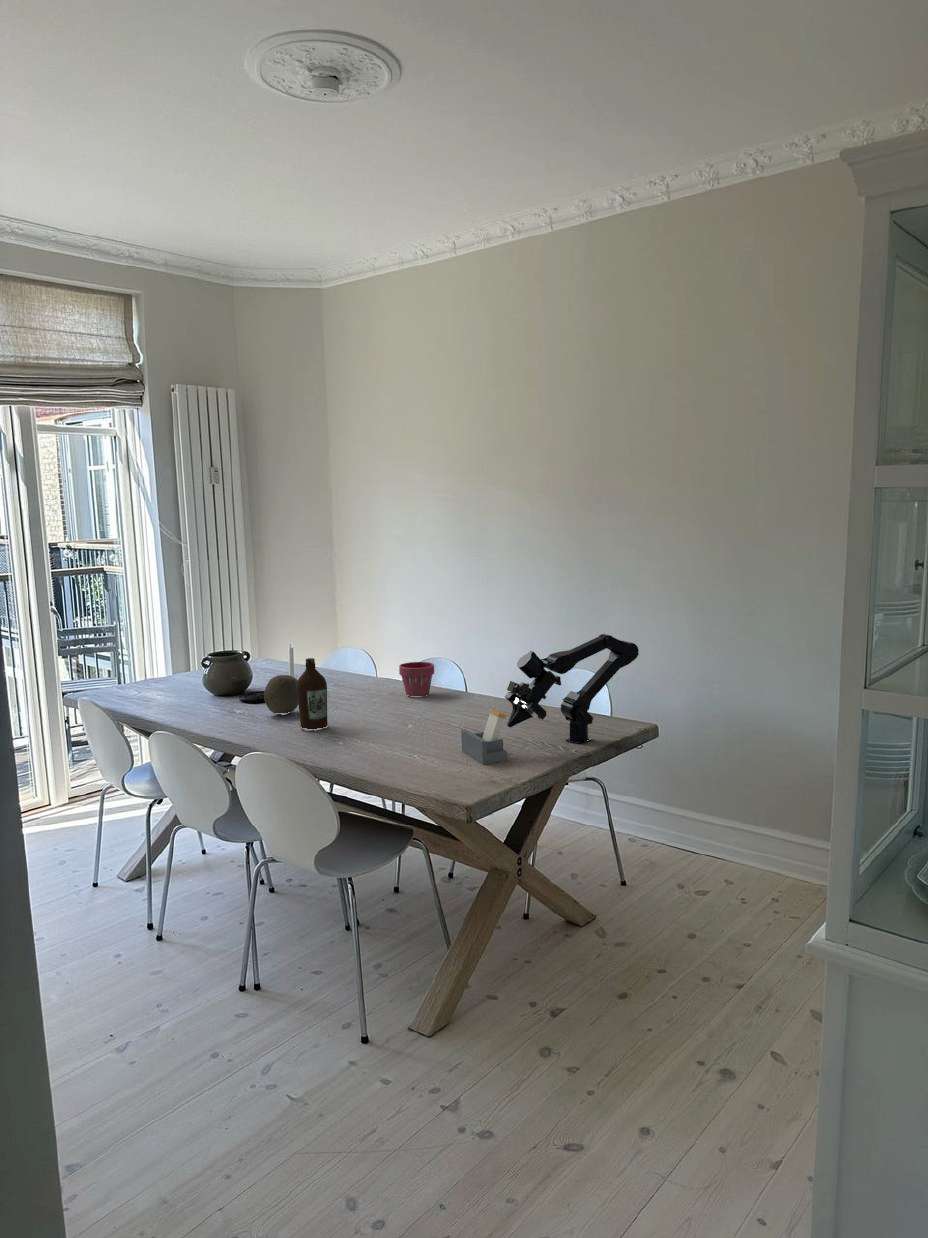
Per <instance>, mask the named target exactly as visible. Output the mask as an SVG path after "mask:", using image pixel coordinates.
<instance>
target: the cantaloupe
mask: <svg viewBox="0 0 928 1238" xmlns="http://www.w3.org/2000/svg"><path fill="white" fill-rule="evenodd" d="M297 681H298V678H296V677H294V676H292V675H287V674H280V675H279V674H278V675H275V676H273V677H271V679H269V681H268V682H267V683H266V686H265V689H264V692H263V693H264V694H263V701H264V703H265V705H266V707H267V709H268V710H269V711H270V712H272V714H275V713H288V712H291V713H292V711H293V712H294V711H295V710H296V709H297V707H299V705H298V697H297V689H296V685H297Z"/></svg>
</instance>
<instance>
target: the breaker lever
mask: <svg viewBox="0 0 928 1238" xmlns="http://www.w3.org/2000/svg"><path fill="white" fill-rule="evenodd" d="M488 712H489V716H488V719H487V722H486V725H485V729H484V731H483V732H484V734H483V737H482V739H484V740H485V741H488V740H495V739H499V735H500V733H501V729H502V726H503V722H504V720H505V719H506V718H507V714H505V713H504V712H501V711H499V710H496V709H493V708H489V711H488Z"/></svg>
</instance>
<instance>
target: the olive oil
mask: <svg viewBox="0 0 928 1238" xmlns="http://www.w3.org/2000/svg"><path fill="white" fill-rule="evenodd" d="M304 660H305V670H304V671H303V673H302V674H301V675H300V676H299V678H297V680H298V681H297V685H296V689H297V697H298V713H299V725H300V728H301V727H302V728H307V729H317V728H323V727H326V726H327V725H329V724H328V723H329V722H328V684H327V681H326V678H325V677H324V676H323V675H322V674H321V673H320V672H319V671H318V670H317V669H316V659H315V658H314V657H309V658H306V659H304Z"/></svg>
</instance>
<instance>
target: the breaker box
mask: <svg viewBox="0 0 928 1238" xmlns="http://www.w3.org/2000/svg"><path fill="white" fill-rule="evenodd" d="M460 731H461V733H460V735H461V751H462V753H464V754H466V755H468V756H469V758H472V759H473V760H475V761H476V762H478V763H479V764H481V765H489V764H495V763H496V764H497V763H501V762H508V751H507V750H506V749H504V739H503V738H498V739H495V740H488V741H485V740H484V739H482V737H483V734H484V731H479V732H472V731H470V730H468V729H467V728H463V729H460Z"/></svg>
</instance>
